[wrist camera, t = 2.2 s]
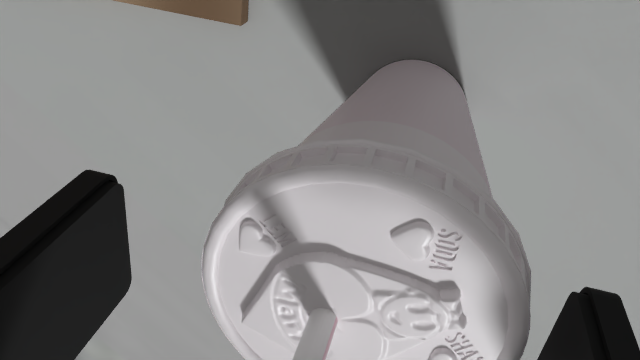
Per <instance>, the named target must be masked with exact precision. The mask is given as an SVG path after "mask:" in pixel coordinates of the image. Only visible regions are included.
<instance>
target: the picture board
mask: <svg viewBox="0 0 640 360" xmlns="http://www.w3.org/2000/svg"><path fill="white" fill-rule="evenodd" d="M114 1H119V2H124V3H129V4H134V5H139V6H144V7H149V8H154V9H159V10H164V11H169V12H174V13H179V14H184V15H189V16H194V17H199V18H204V19H209V20H214V21H219V22H224V23H229V24H234V25H239V26H241V25H243V24H244V23H246V22H247V21H248V1H249V0H114Z"/></svg>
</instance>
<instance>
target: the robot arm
mask: <svg viewBox="0 0 640 360" xmlns="http://www.w3.org/2000/svg"><path fill="white" fill-rule="evenodd" d="M130 284H131V265H130V254H129V243H128V232H127V221H126V210H125V199H124V189H123V186H122V185H121V184H118V182H117V179H116V177H115V176H113V175H110V174H105V173H101V172H97V171H93V170H85V171H84V172H82V173H81V174H80V175H78V176H77V177H76V178H75V179H73V180H72V181H71V182H70V183H68V184H67V185H66V186H65V187H63V188H62V189H61V190H60V191H58V192H57V193H56V194H55V195H53V196H52V197H51V198H50V199H48V200H47V201H46V202H45V203H43V204H42V205H41V206H40V207H39V208H37V209H36V210H35V211H34V212H32V213H31V214H30V215H29V216H27V217H26V218H25V219H24V220H22V221H21V222H20V223H19V224H17V225H16V226H15V227H14V228H12V229H11V230H10V231H9V232H7V233H6V234H5V235H4V236H2V237H1V238H0V360H74V359H75V358H76V357H77V355H78V354H79V353H80V352H81V350H82V349H83V348H84V347H85V345H86V344H87V343H88V341H89V340H90V339H91V338H92V336H93V335H94V334H95V333H96V331H97V330H98V329H99V328H100V326H101V325H102V324H103V322H104V321H105V320H106V319H107V317H108V316H109V315H110V314H111V312H112V311H113V310H114V308H115V307H116V306H117V305H118V303H119V302H120V301H121V300H122V298H123V297H124V296H125V295H126V293H127V292H128V289H129V287H130ZM537 360H640V350H639V347H638V344H637V341H636V339H635V336H634V333H633V330H632V328H631V325H630V322H629V319H628V317H627V314H626V311H625V308H624V306H623V303H622V300H621V298H620V296H619V295H617V294H615V293H610V292H606V291H602V290H598V289H593V288H589V287H584V288H583V289H582V290H581V292H580V293H577V292H572V293H571V294H570V295H569V297H568V299H567V301H566V303H565V305H564V307H563V309H562V311H561V313H560V315H559V317H558V319H557V321H556V323H555V325H554V327H553V329H552V331H551V333H550V335H549V337H548V339H547V341H546V343H545V345H544V347H543V349H542V351H541V353H540V355H539V357H538V359H537Z"/></svg>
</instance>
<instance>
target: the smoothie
mask: <svg viewBox="0 0 640 360" xmlns="http://www.w3.org/2000/svg"><path fill="white" fill-rule="evenodd" d="M201 270H202V281H203V286H204V291H205V295H206V298H207V301H208V304H209V306H210V309H211V311H212V313H213V316H214V318H215V319H216V321H217V323H218V325H219V326H220V328H221V330H222V331H223V333H224V334H225V336H226V337H227V339H228V340H229V341H230V342H231V343H232V345H233V346H234V347H235V348H236V349H237V351H238V352H239V353H240V354H241V355H242V356H243V358H245V359H246V360H520V358H521V356H522V354H523V352H524V349H525V346H526V344H527V340H528V335H529V330H530V291H531V269H530V266H529V263H528V260H527V257H526V254H525V251H524V248H523V245H522V242H521V239H520V236H519V233H518V232H517V231H516V229H515V228H514V226H513V225H512V224H511V222H510V221H509V220H508V218H507V217H506V215H505V214H504V213H503V211H502V210H501V208H500V207H499V206H498V204H497V203H496V202H495V200H494V199H493V197H492V193H491V189H490V186H489V182H488V178H487V175H486V171H485V167H484V164H483V160H482V156H481V152H480V149H479V145H478V141H477V138H476V134H475V130H474V127H473V123H472V119H471V115H470V112H469V108H468V104H467V101H466V97H465V94H464V92H463V90H462V88H461V86H460V85H459V83H458V82H457V81H456V79H455V78H454V77H453V76H452V75H451V74H450V73H448V72H447V71H446V70H444V69H443V68H441V67H439V66H437V65H435V64H433V63H430V62H426V61H422V60H402V61H397V62H393V63H391V64H388V65H386V66H384V67H382V68H381V69H379V70H378V71H377V72H375V73H374V74H373V75H372V76H371V77H370V78H369V79H368V80H367V81H366V82H365V83H364V84H363V85H362V86H361V87H360V88H358V89H357V90H356V91H355V92H354V93H353V94H352V95H351V96H350V97H349V98H348V99H347V100H346V101H345V102H344V103H343V104H342V105H341V106H340V107H339V108H338V109H336V110H335V111H334V112H333V113H332V114H331V115H330V116H329V117H328V118H327V119H326V120H325V121H324V122H323V123H322V124H321V125H320V126H319V127H318V128H317V129H315V130H314V131H313V132H312V133H311V134H310V135H309V136H308V137H307V138H306V139H305V140H304V141H303V142H302V143H300V144H299V145H298V146H297V147H294V148H290V149H287V150H284V151H281V152H278V153H276V154H275V155H273V156H272V157H270V158H269V159H267V160H266V161H264V162H263V163H261V164H260V165H258V166H257V167H255V168H254V169H252V170H251V171H249V172H248V173H246V175H245V176H244V177H243V178H242V180H241V181H240V182H239V184H238V185H237V186H236V187H235V189H234V190H233V191H232V193H231V194H230V195H229V197H228V198H227V199H226V201H225V204H224V207H223V208H222V210H221V211H220V212H219V213H218V215H217V217H216V218H215V220H214V221H213V223H212V225H211V227H210V229H209V232H208V234H207V237H206V240H205V243H204V247H203V254H202V268H201Z"/></svg>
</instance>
